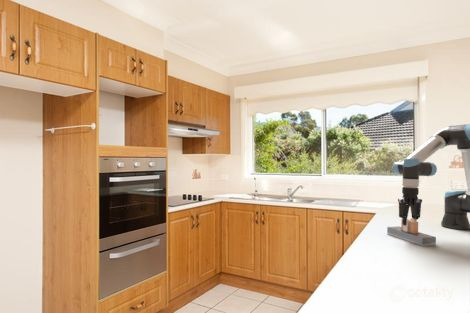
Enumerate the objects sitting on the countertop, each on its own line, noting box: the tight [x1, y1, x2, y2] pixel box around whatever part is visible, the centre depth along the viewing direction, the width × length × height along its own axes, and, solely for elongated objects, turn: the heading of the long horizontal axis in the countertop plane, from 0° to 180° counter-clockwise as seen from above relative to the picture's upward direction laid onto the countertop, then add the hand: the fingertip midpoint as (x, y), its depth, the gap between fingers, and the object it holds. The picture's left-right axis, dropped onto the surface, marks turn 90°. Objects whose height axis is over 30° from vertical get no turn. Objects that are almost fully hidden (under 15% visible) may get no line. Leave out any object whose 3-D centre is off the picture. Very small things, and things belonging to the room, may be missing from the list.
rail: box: [387, 225, 437, 247], centre depth 163 cm, size 8×24×4 cm, turn 13°
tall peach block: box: [400, 218, 419, 234], centre depth 162 cm, size 3×8×9 cm, turn 15°
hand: (409, 231), depth 162 cm, fingers open, 4 cm apart
